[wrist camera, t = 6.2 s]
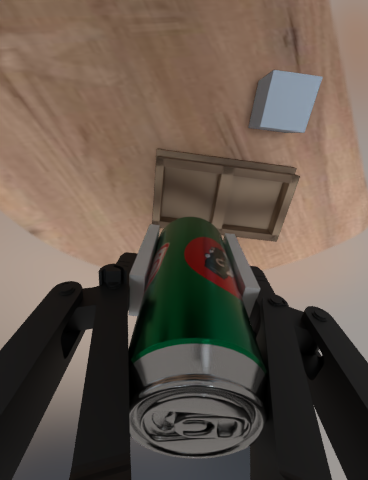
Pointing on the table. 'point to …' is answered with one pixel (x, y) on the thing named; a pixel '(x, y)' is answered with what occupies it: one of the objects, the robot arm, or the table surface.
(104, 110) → the table surface
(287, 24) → the table surface
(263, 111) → the block
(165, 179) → the caddy
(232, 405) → the soda can
